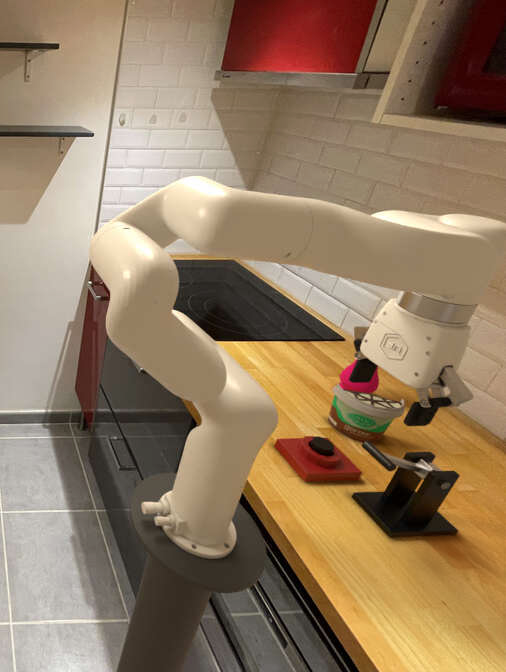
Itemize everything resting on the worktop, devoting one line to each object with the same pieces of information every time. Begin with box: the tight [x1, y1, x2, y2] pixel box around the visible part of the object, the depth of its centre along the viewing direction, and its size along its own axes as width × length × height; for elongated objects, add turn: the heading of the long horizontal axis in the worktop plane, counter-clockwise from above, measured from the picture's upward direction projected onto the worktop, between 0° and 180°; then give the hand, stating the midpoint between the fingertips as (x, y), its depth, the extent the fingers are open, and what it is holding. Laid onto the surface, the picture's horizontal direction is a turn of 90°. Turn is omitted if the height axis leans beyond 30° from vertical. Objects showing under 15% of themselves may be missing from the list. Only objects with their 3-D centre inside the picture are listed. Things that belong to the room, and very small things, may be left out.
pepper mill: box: [338, 358, 380, 394], centre depth 106 cm, size 7×7×20 cm
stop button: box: [310, 436, 335, 456], centre depth 89 cm, size 4×4×2 cm
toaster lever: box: [361, 441, 443, 481], centre depth 75 cm, size 13×5×2 cm, turn 93°
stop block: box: [274, 435, 363, 483], centre depth 90 cm, size 11×9×4 cm
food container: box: [327, 383, 406, 444], centre depth 96 cm, size 12×6×10 cm, turn 65°
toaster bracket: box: [351, 451, 461, 538], centre depth 77 cm, size 12×8×13 cm, turn 92°
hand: (384, 401), depth 69 cm, fingers open, 9 cm apart
